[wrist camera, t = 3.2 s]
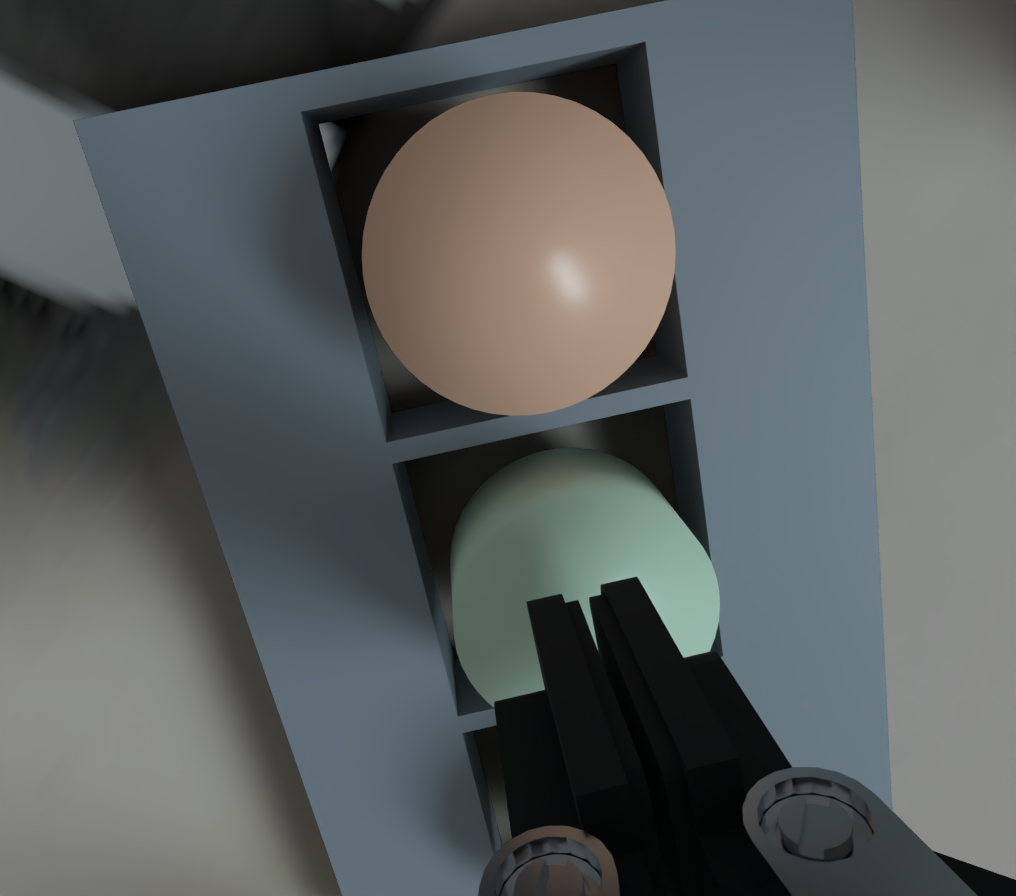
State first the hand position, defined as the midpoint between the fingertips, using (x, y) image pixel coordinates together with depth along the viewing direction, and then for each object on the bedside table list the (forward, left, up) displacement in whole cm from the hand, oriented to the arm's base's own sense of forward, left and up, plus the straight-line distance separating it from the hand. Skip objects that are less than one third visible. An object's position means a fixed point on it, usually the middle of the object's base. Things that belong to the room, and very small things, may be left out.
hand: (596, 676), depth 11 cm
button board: (0, 0, -5) cm, 5 cm away
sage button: (0, 0, -4) cm, 4 cm away
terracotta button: (0, -6, -4) cm, 7 cm away
